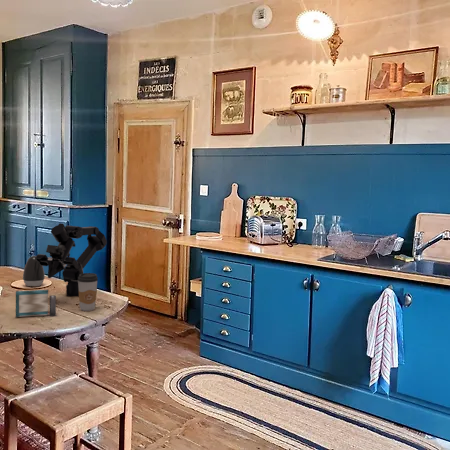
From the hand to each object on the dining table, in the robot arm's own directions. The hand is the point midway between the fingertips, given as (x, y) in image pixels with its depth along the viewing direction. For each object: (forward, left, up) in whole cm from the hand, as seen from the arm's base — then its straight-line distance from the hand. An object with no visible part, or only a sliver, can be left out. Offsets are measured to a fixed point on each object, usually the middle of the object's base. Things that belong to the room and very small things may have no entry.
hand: (48, 277), depth 203 cm
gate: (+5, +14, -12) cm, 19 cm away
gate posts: (+4, +10, -13) cm, 16 cm away
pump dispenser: (+10, -37, -13) cm, 40 cm away
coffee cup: (-16, +6, -13) cm, 22 cm away
